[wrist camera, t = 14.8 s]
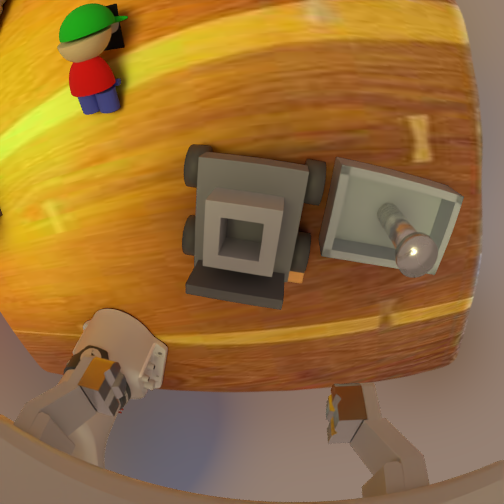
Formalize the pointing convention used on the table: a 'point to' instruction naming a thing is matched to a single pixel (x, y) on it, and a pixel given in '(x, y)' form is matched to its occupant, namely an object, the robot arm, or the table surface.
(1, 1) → the seashell
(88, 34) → the toy
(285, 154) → the table surface
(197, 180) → the trolley
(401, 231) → the pin
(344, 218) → the tray
